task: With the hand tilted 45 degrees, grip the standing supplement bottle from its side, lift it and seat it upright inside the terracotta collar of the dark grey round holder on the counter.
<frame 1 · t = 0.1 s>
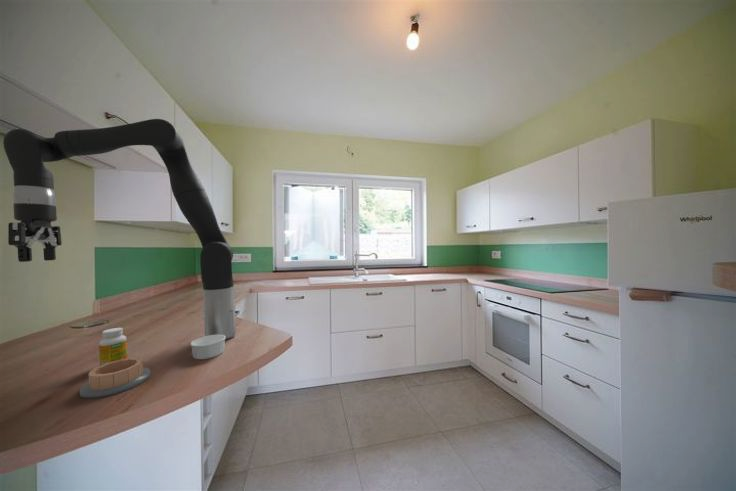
hand: (38, 260, 74), 29 cm above the table, tool pointing down, fingers open, 8 cm apart
holder: (117, 383, 61), on the table
supplement bottle: (114, 365, 71), on the table
ramekin: (208, 354, 77), on the table
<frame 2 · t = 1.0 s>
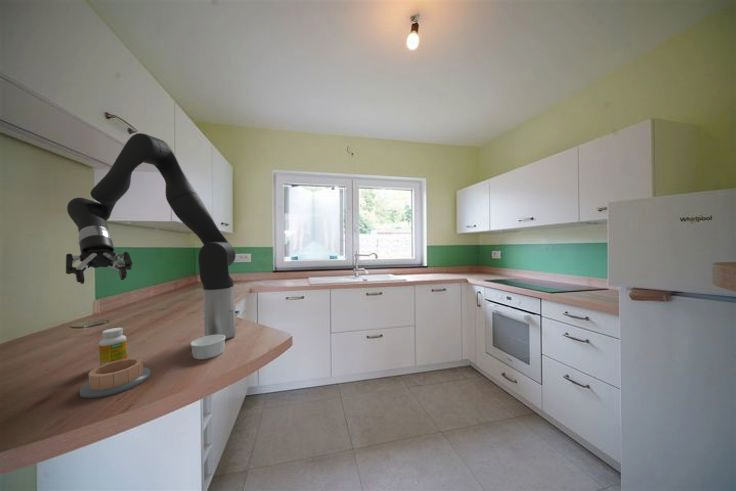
hand: (103, 280, 78), 23 cm above the table, tool tilted 45°, fingers open, 8 cm apart
nothing on the table moved.
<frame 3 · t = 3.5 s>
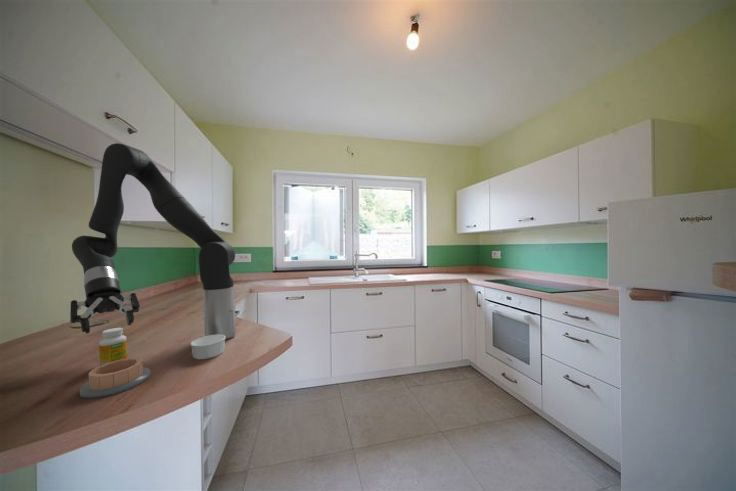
hand: (109, 327, 74), 10 cm above the table, tool tilted 45°, fingers open, 8 cm apart
nothing on the table moved.
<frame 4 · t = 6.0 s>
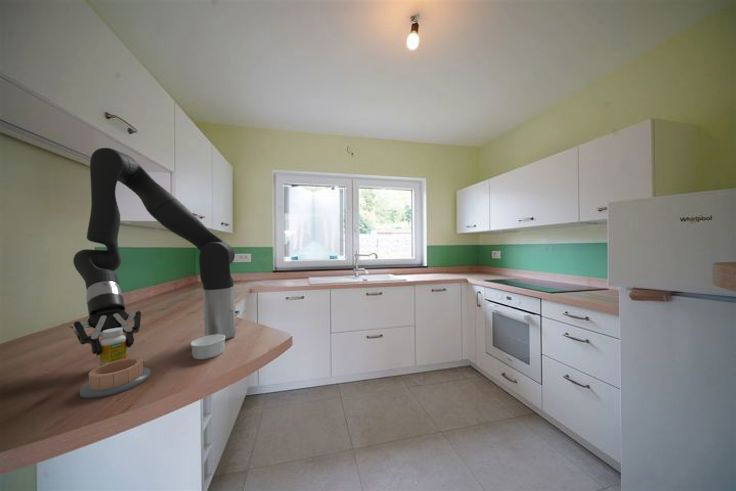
hand: (114, 349, 70), 5 cm above the table, tool tilted 45°, fingers closed on supplement bottle, 5 cm apart
supplement bottle: (114, 365, 71), on the table, touching gripper
everything else where it was.
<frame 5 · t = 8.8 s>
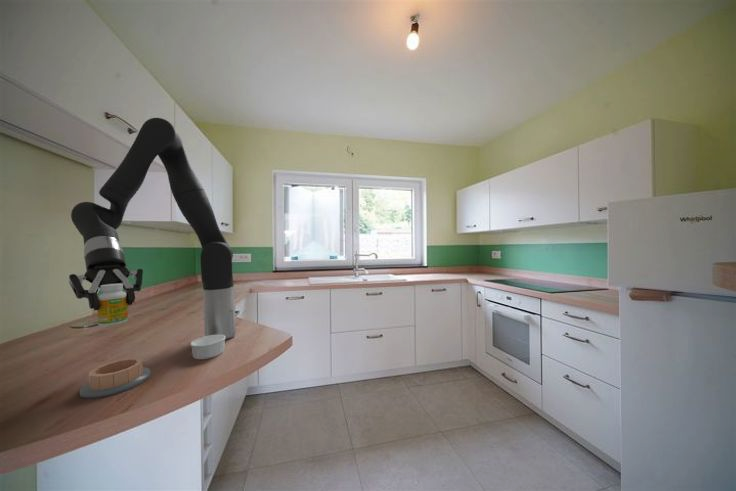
hand: (114, 305, 64), 18 cm above the table, tool tilted 45°, fingers closed on supplement bottle, 5 cm apart
supplement bottle: (113, 324, 65), point 13 cm above the table, touching gripper
everything else where it was.
when the fingers open (7 cm above the table, at t = 11.9 s): supplement bottle drops 1 cm, resting on holder.
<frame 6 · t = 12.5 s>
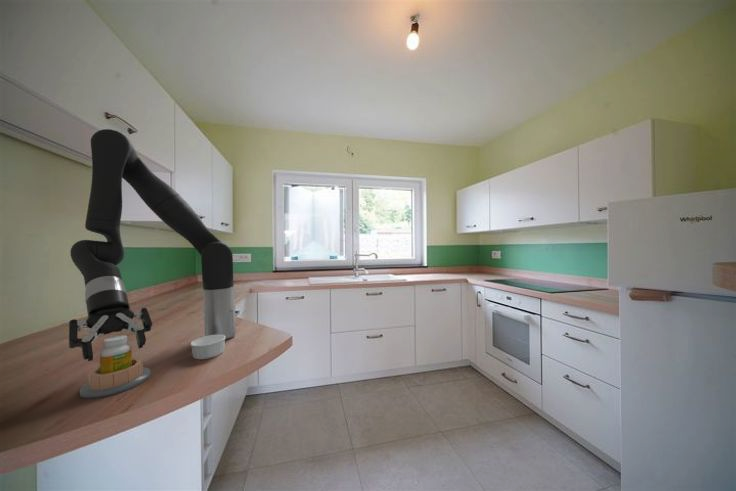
hand: (117, 352, 61), 8 cm above the table, tool tilted 45°, fingers open, 8 cm apart
supplement bottle: (116, 379, 62), point 1 cm above the table, touching holder
everything else where it was.
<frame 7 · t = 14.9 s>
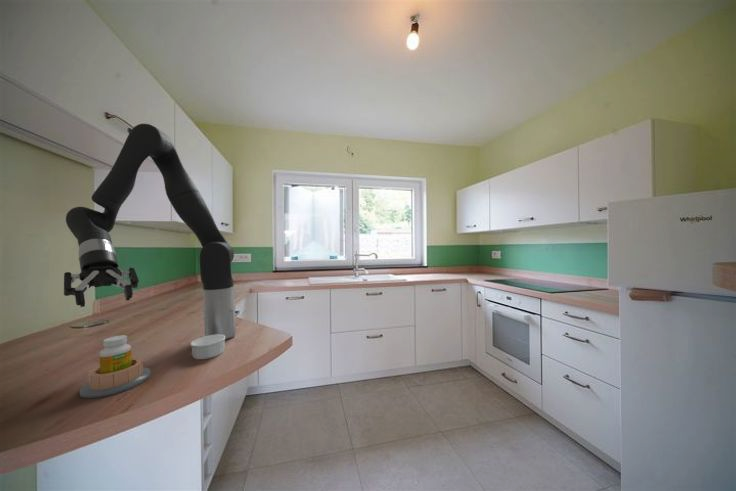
hand: (106, 301, 69), 18 cm above the table, tool tilted 45°, fingers open, 8 cm apart
nothing on the table moved.
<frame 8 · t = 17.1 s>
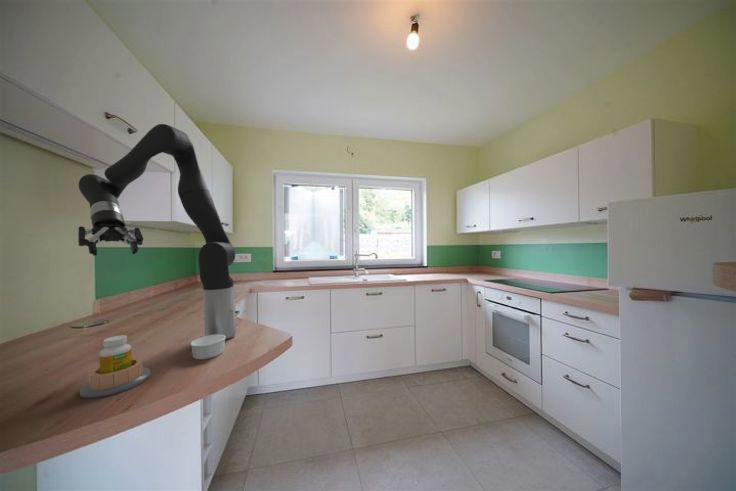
hand: (115, 252, 78), 31 cm above the table, tool tilted 45°, fingers open, 8 cm apart
nothing on the table moved.
at the end: supplement bottle 0.2 cm off-centre on the holder, point 0.8 cm above the holder's base; supplement bottle tilted 0°; the gripper is holding nothing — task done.
